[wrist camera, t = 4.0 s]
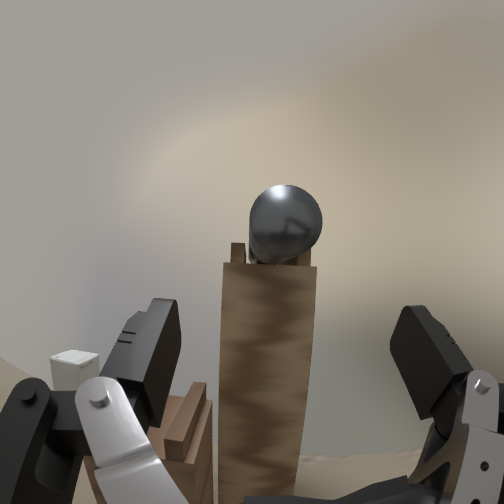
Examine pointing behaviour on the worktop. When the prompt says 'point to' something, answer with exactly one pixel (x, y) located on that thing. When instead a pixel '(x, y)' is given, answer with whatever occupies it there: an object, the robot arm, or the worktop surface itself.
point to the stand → (263, 373)
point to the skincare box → (73, 369)
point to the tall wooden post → (180, 446)
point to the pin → (283, 225)
